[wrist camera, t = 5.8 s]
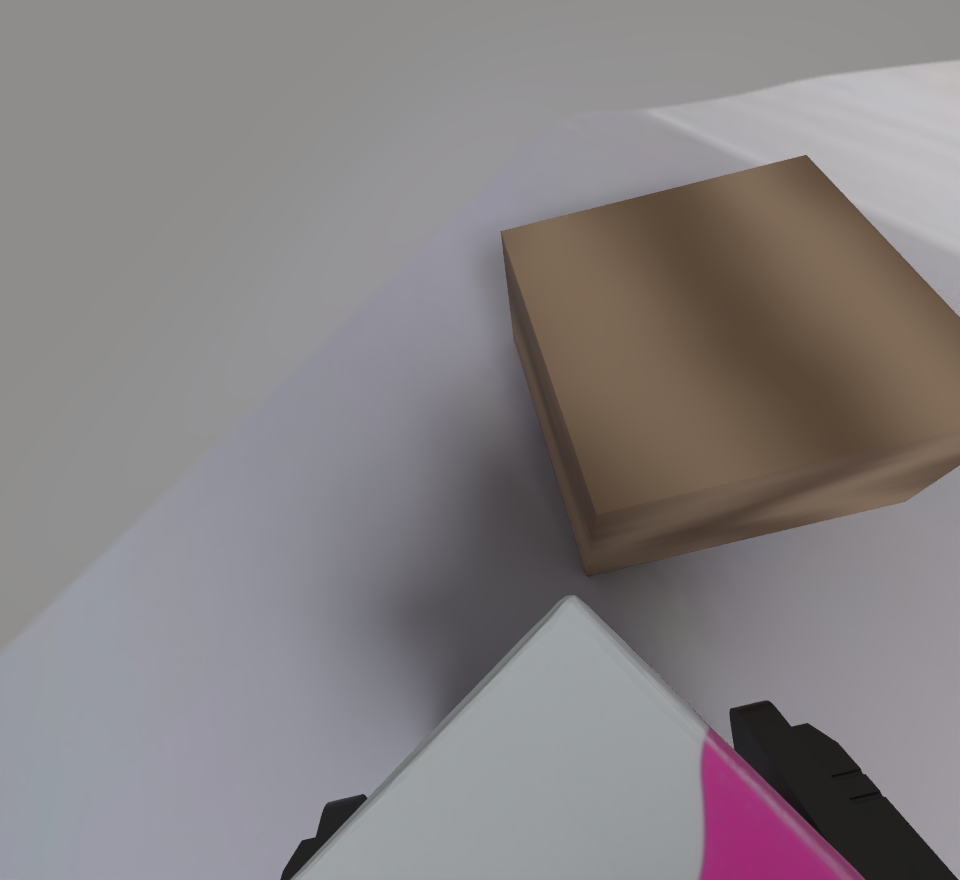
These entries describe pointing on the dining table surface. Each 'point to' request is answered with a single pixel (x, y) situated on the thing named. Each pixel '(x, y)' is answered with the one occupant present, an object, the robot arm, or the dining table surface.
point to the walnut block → (729, 363)
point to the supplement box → (575, 782)
